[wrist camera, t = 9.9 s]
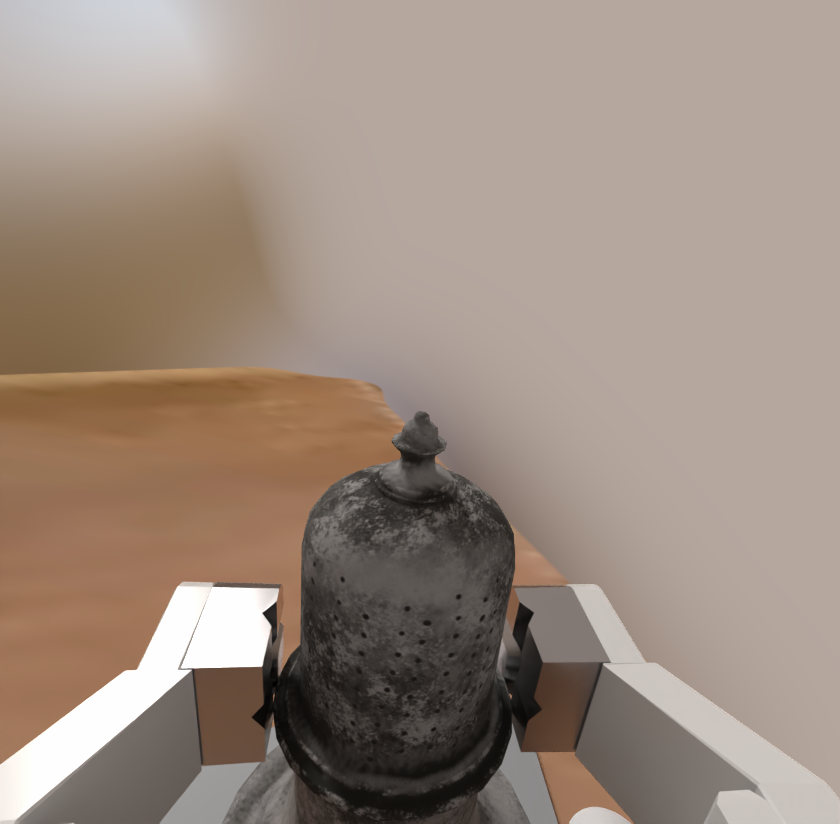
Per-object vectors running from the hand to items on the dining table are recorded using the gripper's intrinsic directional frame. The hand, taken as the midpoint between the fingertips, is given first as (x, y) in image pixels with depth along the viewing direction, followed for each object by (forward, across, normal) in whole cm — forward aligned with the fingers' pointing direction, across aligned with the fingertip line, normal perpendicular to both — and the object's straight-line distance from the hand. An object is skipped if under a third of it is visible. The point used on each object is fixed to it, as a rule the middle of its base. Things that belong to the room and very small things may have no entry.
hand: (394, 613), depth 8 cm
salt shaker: (-1, 0, +8) cm, 8 cm away
